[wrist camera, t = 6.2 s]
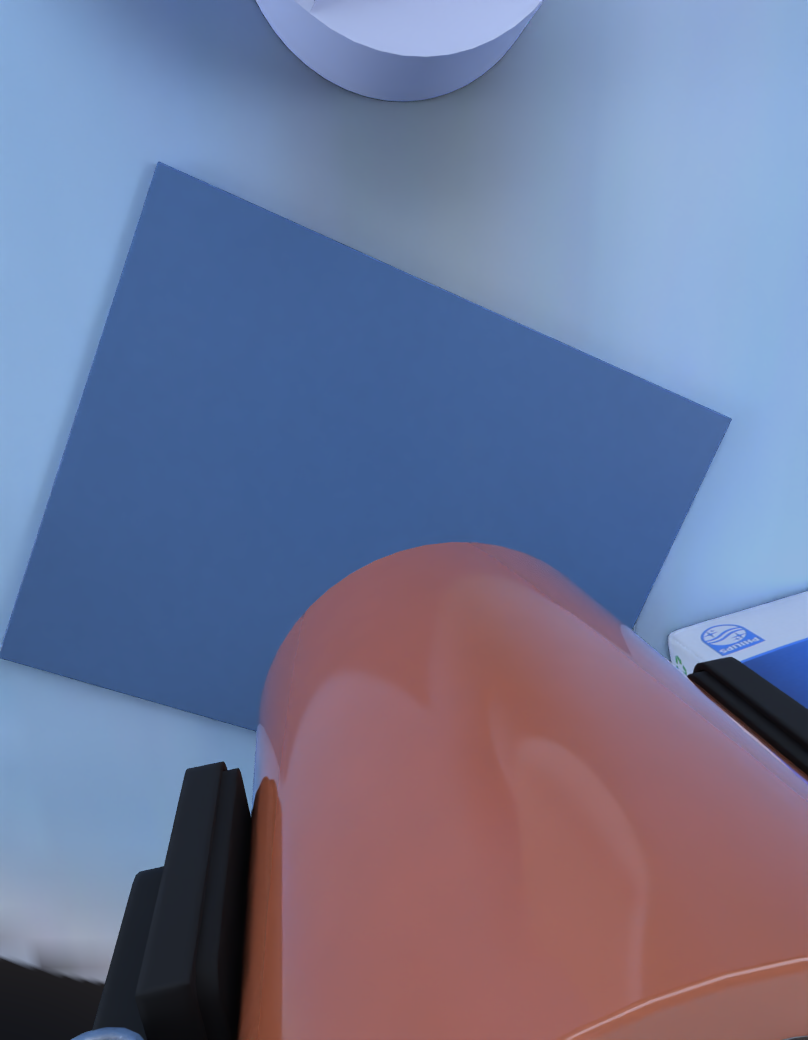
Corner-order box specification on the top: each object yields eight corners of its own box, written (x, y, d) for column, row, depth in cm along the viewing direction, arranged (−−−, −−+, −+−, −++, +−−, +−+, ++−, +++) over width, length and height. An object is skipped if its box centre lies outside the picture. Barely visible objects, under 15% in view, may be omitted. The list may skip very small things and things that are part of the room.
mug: (222, 579, 12) (76, 1160, 4) (614, 510, 13) (1262, 843, 4) (317, 1029, 15) (366, 2005, 6) (639, 946, 16) (1085, 1701, 7)
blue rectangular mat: (0, 653, 23) (-3, 657, 23) (159, 163, 21) (158, 160, 21) (542, 809, 28) (544, 814, 27) (727, 418, 25) (732, 418, 25)
